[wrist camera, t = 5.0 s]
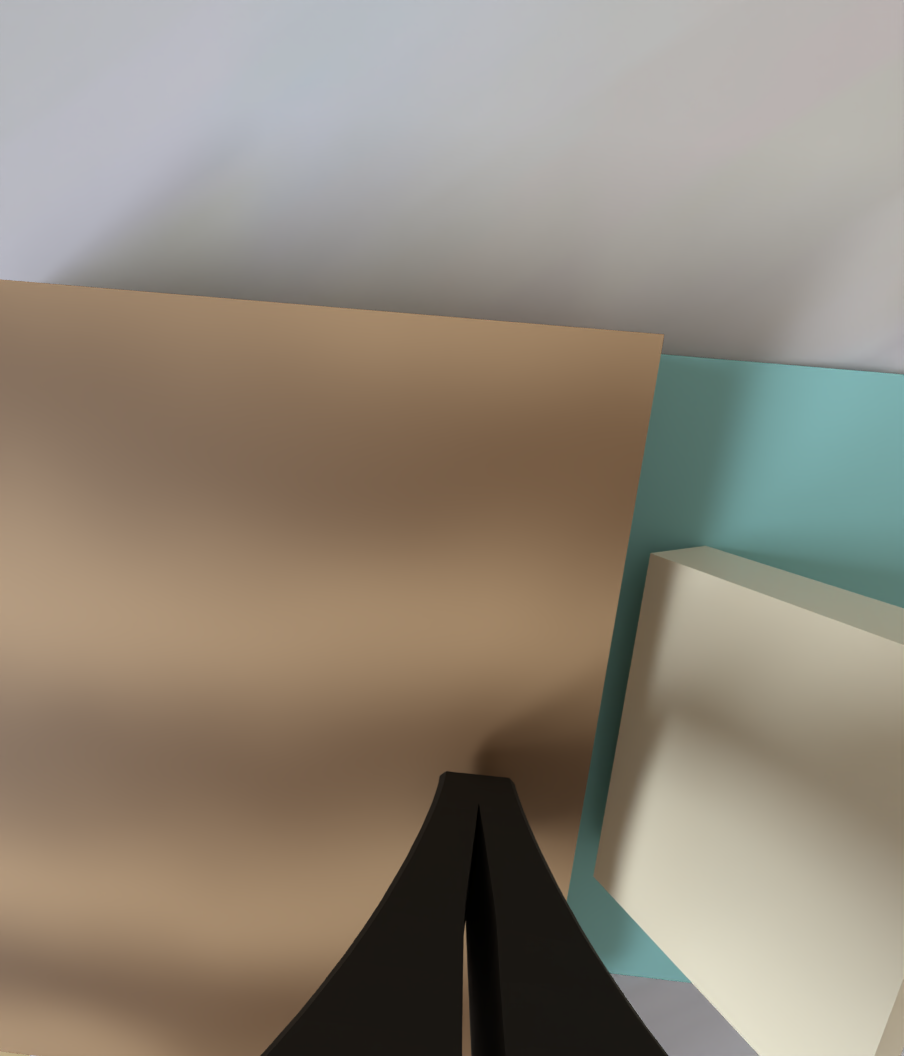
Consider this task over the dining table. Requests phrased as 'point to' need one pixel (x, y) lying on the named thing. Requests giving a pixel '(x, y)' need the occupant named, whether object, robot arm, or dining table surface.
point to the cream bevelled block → (766, 800)
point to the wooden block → (280, 633)
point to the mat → (745, 536)
